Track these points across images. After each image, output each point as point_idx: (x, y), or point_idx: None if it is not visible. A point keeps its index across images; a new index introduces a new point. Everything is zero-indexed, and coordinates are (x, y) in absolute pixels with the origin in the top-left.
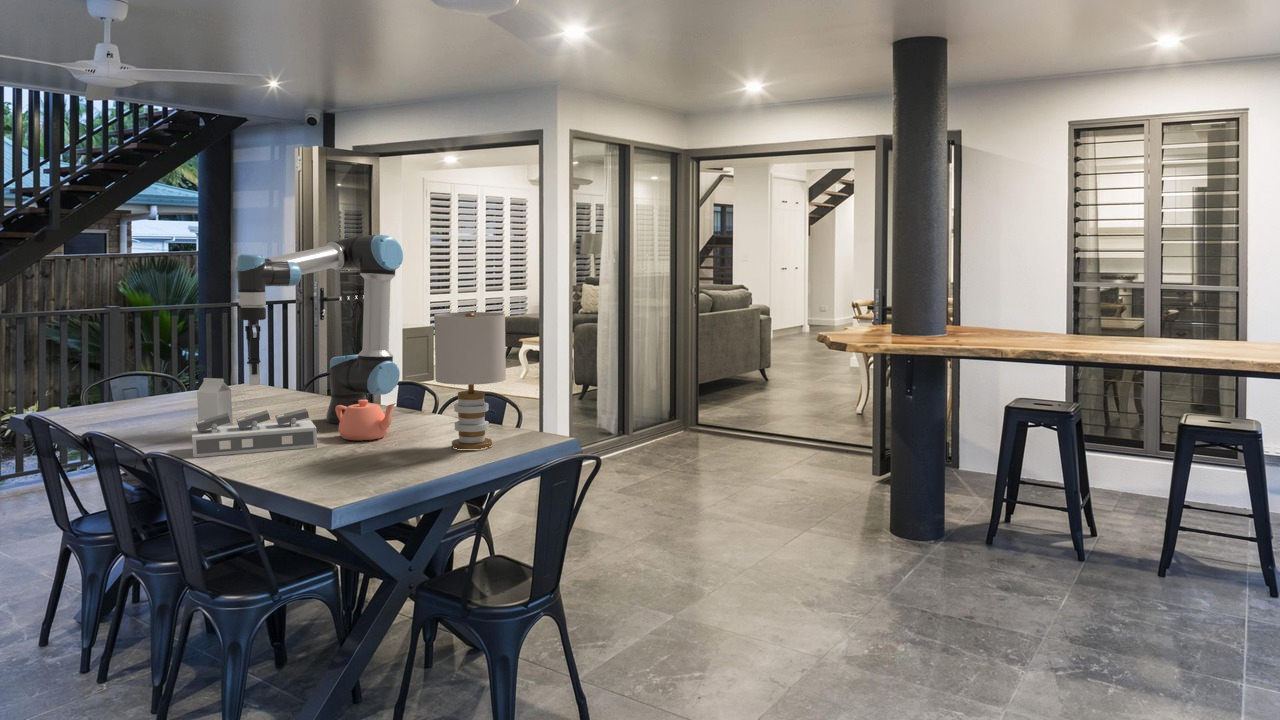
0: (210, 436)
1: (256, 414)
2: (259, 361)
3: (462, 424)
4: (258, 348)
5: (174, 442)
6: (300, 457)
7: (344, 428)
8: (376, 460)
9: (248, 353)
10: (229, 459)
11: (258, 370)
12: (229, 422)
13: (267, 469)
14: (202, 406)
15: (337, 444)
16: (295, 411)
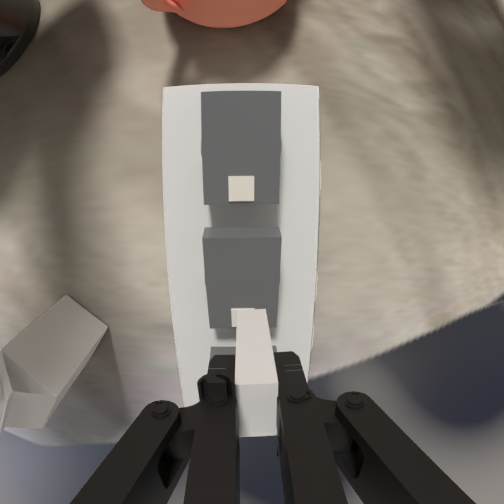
0: (307, 373)
1: (230, 274)
2: (233, 386)
3: None
4: (439, 473)
5: (116, 399)
6: (408, 161)
7: (261, 11)
8: (474, 45)
9: (173, 487)
10: (355, 311)
11: (273, 356)
12: (276, 348)
13: (472, 242)
14: (62, 397)
15: (290, 49)
16: (217, 130)
